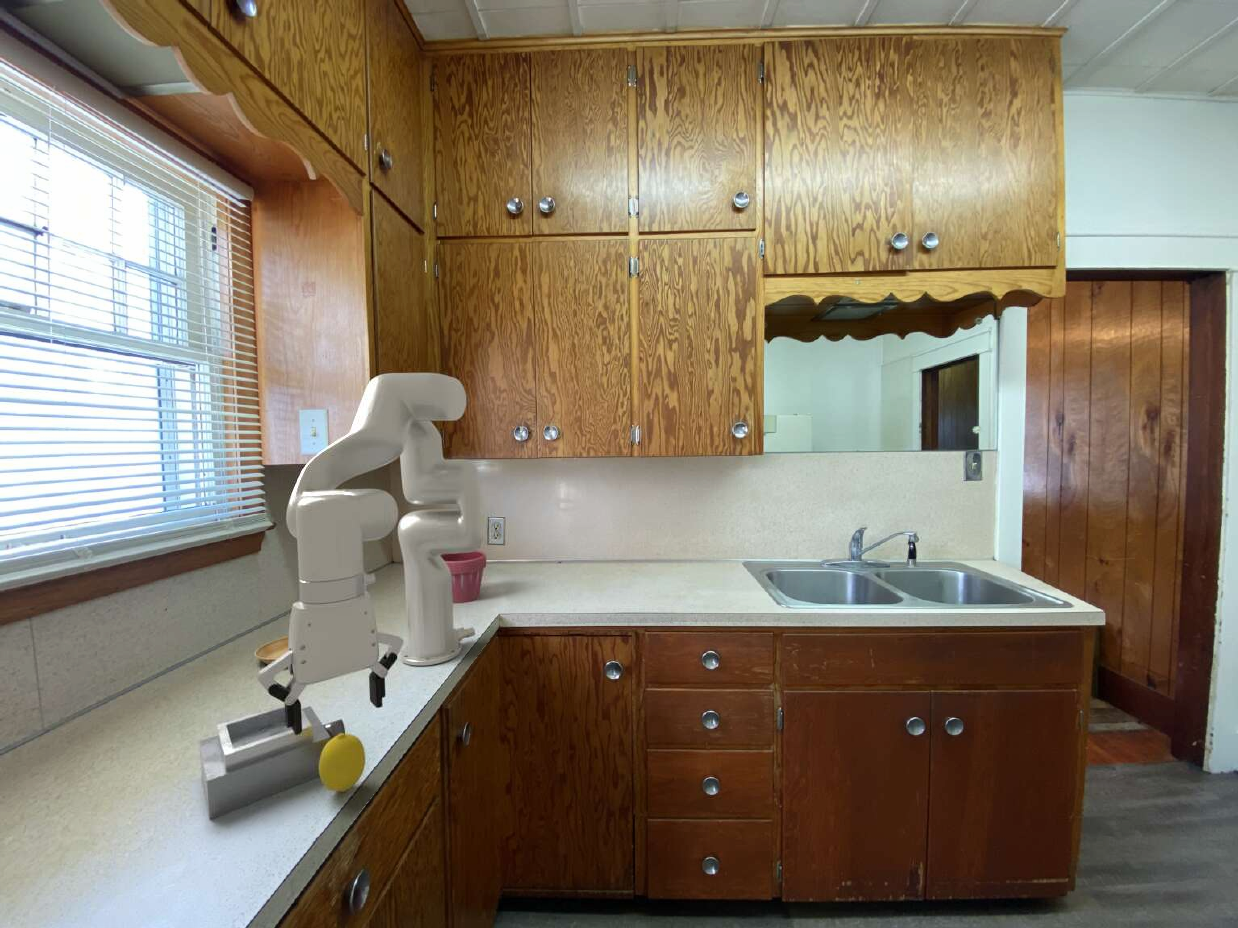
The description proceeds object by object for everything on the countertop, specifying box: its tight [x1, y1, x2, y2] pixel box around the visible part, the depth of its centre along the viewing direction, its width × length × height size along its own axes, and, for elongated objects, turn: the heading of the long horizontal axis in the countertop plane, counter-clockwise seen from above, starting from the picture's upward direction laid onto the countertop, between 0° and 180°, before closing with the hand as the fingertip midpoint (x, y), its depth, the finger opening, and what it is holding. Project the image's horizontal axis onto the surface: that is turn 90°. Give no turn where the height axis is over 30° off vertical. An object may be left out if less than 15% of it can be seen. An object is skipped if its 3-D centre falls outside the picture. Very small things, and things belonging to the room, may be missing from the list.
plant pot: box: [440, 550, 487, 604], centre depth 156 cm, size 14×14×13 cm
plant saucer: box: [254, 636, 289, 666], centre depth 118 cm, size 15×15×3 cm
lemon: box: [319, 733, 366, 793], centre depth 72 cm, size 6×6×8 cm
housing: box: [198, 704, 346, 820], centre depth 77 cm, size 17×12×7 cm
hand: (338, 716), depth 71 cm, fingers open, 9 cm apart
